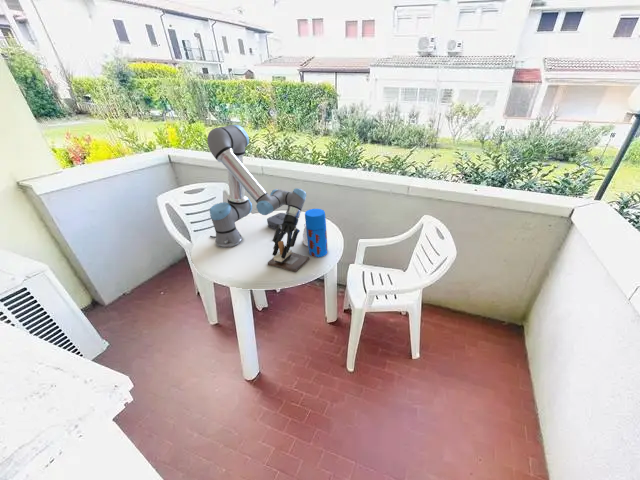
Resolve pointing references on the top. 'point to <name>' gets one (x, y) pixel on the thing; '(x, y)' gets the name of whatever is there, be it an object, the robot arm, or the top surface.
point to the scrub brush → (281, 248)
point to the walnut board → (291, 262)
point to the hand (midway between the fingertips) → (278, 256)
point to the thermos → (316, 232)
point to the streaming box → (276, 220)
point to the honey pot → (305, 236)
